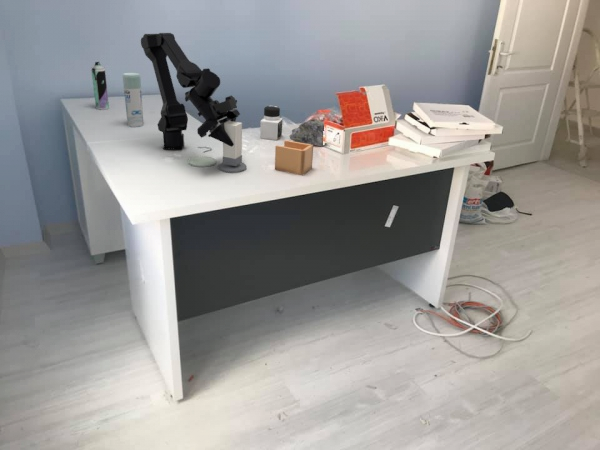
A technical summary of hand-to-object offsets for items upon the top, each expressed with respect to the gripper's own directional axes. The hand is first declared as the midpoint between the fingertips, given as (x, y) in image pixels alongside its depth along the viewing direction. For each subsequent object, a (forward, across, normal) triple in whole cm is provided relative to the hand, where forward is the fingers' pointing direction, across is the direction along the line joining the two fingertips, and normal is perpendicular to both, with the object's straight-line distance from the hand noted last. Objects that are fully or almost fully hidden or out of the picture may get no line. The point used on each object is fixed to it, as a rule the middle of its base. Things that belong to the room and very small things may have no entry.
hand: (236, 143), depth 158 cm
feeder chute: (+18, +9, -6) cm, 21 cm away
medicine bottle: (+3, +40, +10) cm, 41 cm away
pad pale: (-3, 0, +15) cm, 15 cm away
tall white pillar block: (+4, 0, +6) cm, 7 cm away
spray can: (-56, +42, +68) cm, 98 cm away
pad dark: (+5, 0, +7) cm, 8 cm away
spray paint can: (-35, +27, +48) cm, 65 cm away
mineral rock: (+14, +40, -2) cm, 42 cm away
